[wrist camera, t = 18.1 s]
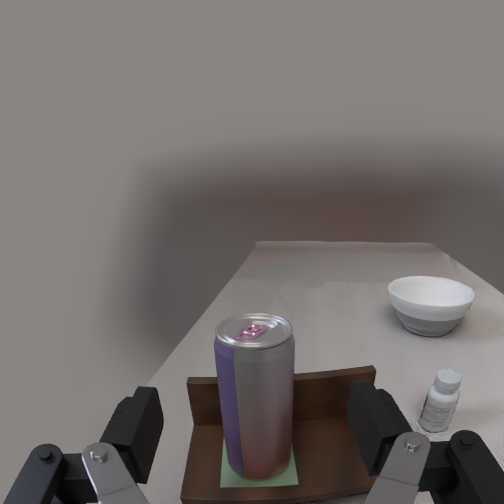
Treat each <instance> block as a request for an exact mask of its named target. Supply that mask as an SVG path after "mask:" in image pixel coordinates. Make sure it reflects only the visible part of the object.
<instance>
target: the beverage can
mask: <svg viewBox="0 0 504 504" xmlns="http://www.w3.org/2000/svg"><path fill="white" fill-rule="evenodd" d="M292 331H293V329H292V325H291V324H290V322H289V321H287V320H286V319H284V318H282V317H279V316H276V315H272V314H265V313H248V314H241V315H236V316H233V317H230V318H227V319H225V320H223V321H222V322H220V323H219V324H218V326H217V327H216V330H215V334H216V338H215V341H214V351H215V361H216V370H217V379H218V388H219V397H220V405H221V414H222V422H223V429H224V437H225V445H226V452H227V459H228V463H229V466H230V467H231V469H232V470H233V471H234V472H236V473H237V474H239V475H240V476H242V477H244V478H247V479H251V480H266V479H270V478H273V477H275V476H277V475H278V474H280V473H281V472H282V471H284V470H285V469H286V467H287V466H288V464H289V462H290V455H291V437H292V417H293V392H294V360H295V339H294V337H293V334H292Z"/></svg>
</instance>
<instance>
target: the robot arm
mask: <svg viewBox="0 0 504 504" xmlns="http://www.w3.org/2000/svg"><path fill="white" fill-rule="evenodd" d="M347 420H348V424H349V426H350V429H351V431H352V434H353V436H354V439H355V441H356V444H357V446H358V449H359V452H360V454H361V457H362V459H363V462H364V465H365V467H366V470H367V472H368V475H369V477H372V476H376V475H378V477H377V479H376V480H375V482H374V484H373V486H372V488H371V490H370V492H369V494H368V496H367V497H366V499H365V501H364V503H363V504H413V503H414V500H415V497H416V495H417V492H423V491H429V492H430V494H431V497H432V499H433V501H434V504H504V472H503V470H502V468H501V467H500V465H499V464H498V462H497V461H496V459H495V458H494V456H493V455H492V453H491V452H490V450H489V449H488V447H487V446H486V445H485V443H484V442H483V440H482V439H481V437H480V436H479V435H478V434H476V433H475V432H473V431H469V430H461V431H458V432H456V433H454V434H453V435H452V437H451V439H450V441H440V442H431V441H429V439H428V438H427V437H426V436H425V435H423V434H421V433H418V432H413V430H412V428H411V427H410V425H409V423H408V422H407V420H406V418H405V417H404V415H403V414H402V412H401V410H399V407H398V406H397V404H396V402H395V401H394V399H393V397H392V396H391V395H390V394H389V393H388V392H386V391H385V390H383V389H377V390H376V388H375V386H374V384H373V383H372V381H371V380H370V379H367V380H360V381H353V382H352V383H351V387H350V394H349V400H348V405H347ZM163 424H164V418H163V412H162V408H161V404H160V399H159V395H158V391H157V388H155V387H141V386H139V387H138V388H137V389H136V391H135V393H134V396H133V397H126V398H125V399H123V400H122V401H121V402H120V403H119V404H118V405H117V408H116V409H115V412H114V413H113V415H112V417H111V420H110V421H109V423H108V425H107V427H106V429H105V431H104V433H103V435H102V437H101V439H100V441H99V443H94V444H91V445H89V446H88V447H87V448H85V449H84V451H83V453H79V454H63V453H62V452H61V450H60V448H59V447H57V446H56V445H53V444H42V445H39V446H37V447H36V448H34V449H33V451H32V452H31V454H30V455H29V457H28V459H27V461H26V462H25V464H24V467H23V468H22V470H21V471H20V473H19V475H18V477H17V479H16V480H15V482H14V484H13V486H12V488H11V490H10V492H9V493H8V495H7V497H6V499H5V501H4V503H3V504H86V503H99V504H149V502H148V501H147V499H146V497H145V496H144V494H143V493H142V491H141V490H140V488H139V486H138V485H137V483H141V484H147V480H148V477H149V473H150V470H151V467H152V463H153V460H154V456H155V453H156V450H157V446H158V443H159V439H160V436H161V433H162V430H163Z"/></svg>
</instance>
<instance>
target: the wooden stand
mask: <svg viewBox="0 0 504 504" xmlns="http://www.w3.org/2000/svg"><path fill="white" fill-rule="evenodd" d="M375 376H376V369H375V368H374V366H373V365H371V366H364V367H357V368H349V369H340V370H332V371H322V372H311V373H300V374H294V392H293V417H292V437H291V455H290V462H289V464H288V466H287V467H286V469H285V470H284V471H282V472H281V473H280V474H278V475H277V476H275V477H273V478H270V479H266V480H251V479H247V478H244V477H242V476H240V475H239V474H237V473H236V472H234V471H233V470H232V469H231V467H230V466H229V463H228V459H227V452H226V445H225V437H224V429H223V422H222V414H221V405H220V397H219V388H218V379H217V377H188V380H187V389H188V395H189V400H190V406H191V411H192V417H193V422H194V427H193V432H192V437H191V442H190V448H189V453H188V458H187V463H186V469H185V474H184V480H183V485H182V491H181V496H180V498H181V501H182V504H290V503H300V502H309V501H317V500H324V499H331V498H337V497H342V496H348V495H353V494H358V493H363V492H367V491H368V492H370V490H371V488H372V486H373V484H374V482H375V480H376V479H377V477H378V475H376V476H372V477H369V475H368V472H367V470H366V467H365V465H364V462H363V459H362V457H361V454H360V452H359V449H358V446H357V444H356V441H355V439H354V436H353V434H352V431H351V429H350V426H349V424H348V420H347V405H348V400H349V394H350V387H351V383H352V382H353V381H360V380H367V379H370V380H371V381H372V383H373V384H374V381H375Z"/></svg>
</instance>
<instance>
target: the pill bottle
mask: <svg viewBox="0 0 504 504" xmlns="http://www.w3.org/2000/svg"><path fill="white" fill-rule="evenodd" d="M461 380H462V375H461V374H460V373H459V372H458V371H456V370H454V369H450V368H445V369H441V370H439V371H438V372H437V375H436V378H435V381H434V384H433V385H432V386H431V387H430V388H429V390H428V393H427V396H426V400H425V403H424V407H423V410H422V413H421V416H420V424H421V426H422V427H423V428H424V429H425V430H428V431H430V432H441V431H443V430H445V429H446V428H447V427H448V426H449V424H450V421H451V418H452V416H453V413H454V410H455V408H456V405H457V402H458V399H459V396H460V392H459V389H458V388H459V386H460V383H461Z"/></svg>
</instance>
